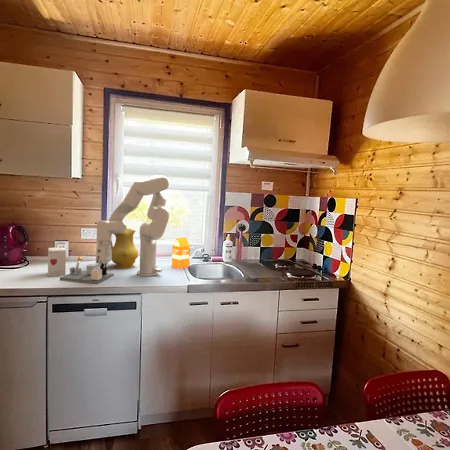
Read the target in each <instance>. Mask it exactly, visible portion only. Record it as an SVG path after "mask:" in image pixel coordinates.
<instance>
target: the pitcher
mask: <svg viewBox="0 0 450 450" xmlns="http://www.w3.org/2000/svg"><path fill="white" fill-rule="evenodd" d="M135 233H136V230H135V229H131V228H126V230H125V232H123V233H121V234H116V233H111V235H114V236H115V242H114V244H113V241H112V240H113V239H111V250H112V260H111V262H112V263H114V264H115V265H114V268H116V269H130V268H134V267H135V264H134V263H136V260H137V258H138V257H139V252H138V249H137V247H136V246H135V243H134V234H135Z"/></svg>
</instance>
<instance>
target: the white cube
mask: <svg viewBox="0 0 450 450" xmlns="http://www.w3.org/2000/svg"><path fill="white" fill-rule="evenodd" d="M85 269H86V270H85V271H86V274H90V275H91V270H93V269H98V264H96V263H95V264H93V263H92V264H91V263H90V264H86V268H85Z"/></svg>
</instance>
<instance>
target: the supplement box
mask: <svg viewBox="0 0 450 450" xmlns="http://www.w3.org/2000/svg"><path fill="white" fill-rule="evenodd" d="M47 248H48V249H47V276H48V277H59V276H60V277H62V276H65V275H67V274H66V267H67V266H66V264H67V262H66V260H67V259H66V258H67V250H66V248H65V247H47Z"/></svg>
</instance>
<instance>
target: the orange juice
mask: <svg viewBox="0 0 450 450" xmlns="http://www.w3.org/2000/svg"><path fill="white" fill-rule="evenodd" d="M171 247H172V249H171V250H172V251H171V267H173V268H175V269H182V268H189V265H190V244H189V241H188V238H187V236H184V237H176V239H175V240H174V242H173V243H172V246H171Z"/></svg>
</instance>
